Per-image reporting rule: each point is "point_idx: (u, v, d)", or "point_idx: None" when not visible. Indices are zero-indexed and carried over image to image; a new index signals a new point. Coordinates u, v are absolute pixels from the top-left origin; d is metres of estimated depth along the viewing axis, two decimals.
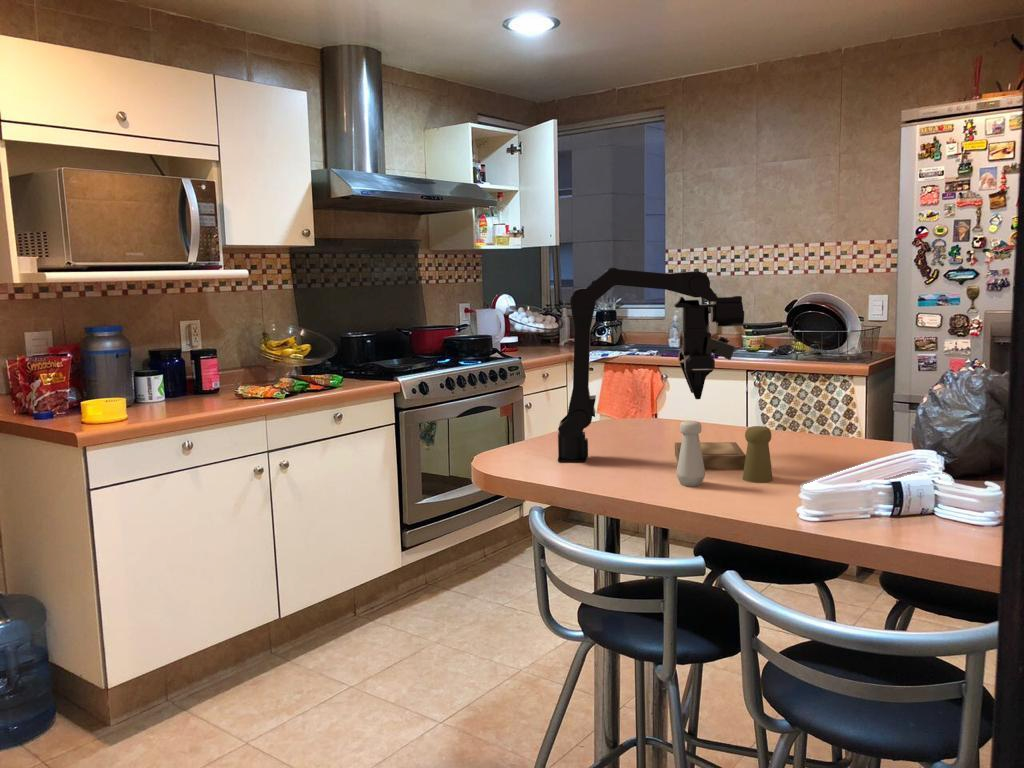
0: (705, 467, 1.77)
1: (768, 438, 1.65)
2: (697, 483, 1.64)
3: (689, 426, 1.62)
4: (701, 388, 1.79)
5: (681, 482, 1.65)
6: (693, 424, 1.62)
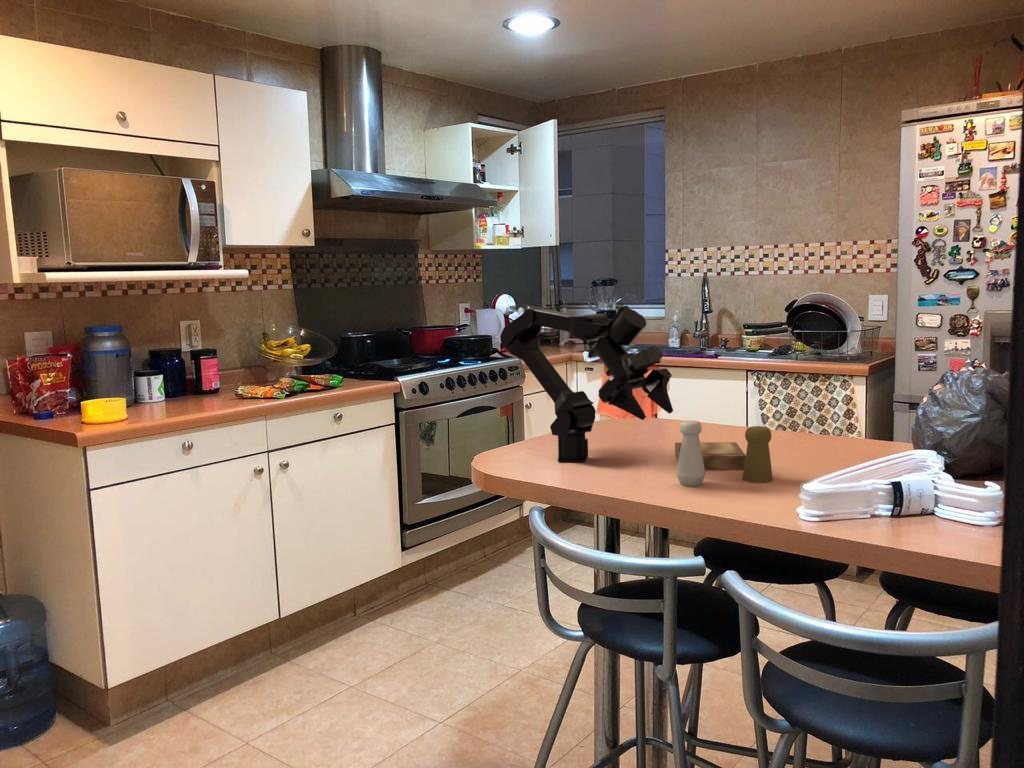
0: (705, 467, 1.77)
1: (768, 438, 1.65)
2: (697, 483, 1.64)
3: (689, 426, 1.62)
4: (636, 407, 1.67)
5: (681, 482, 1.65)
6: (693, 424, 1.62)
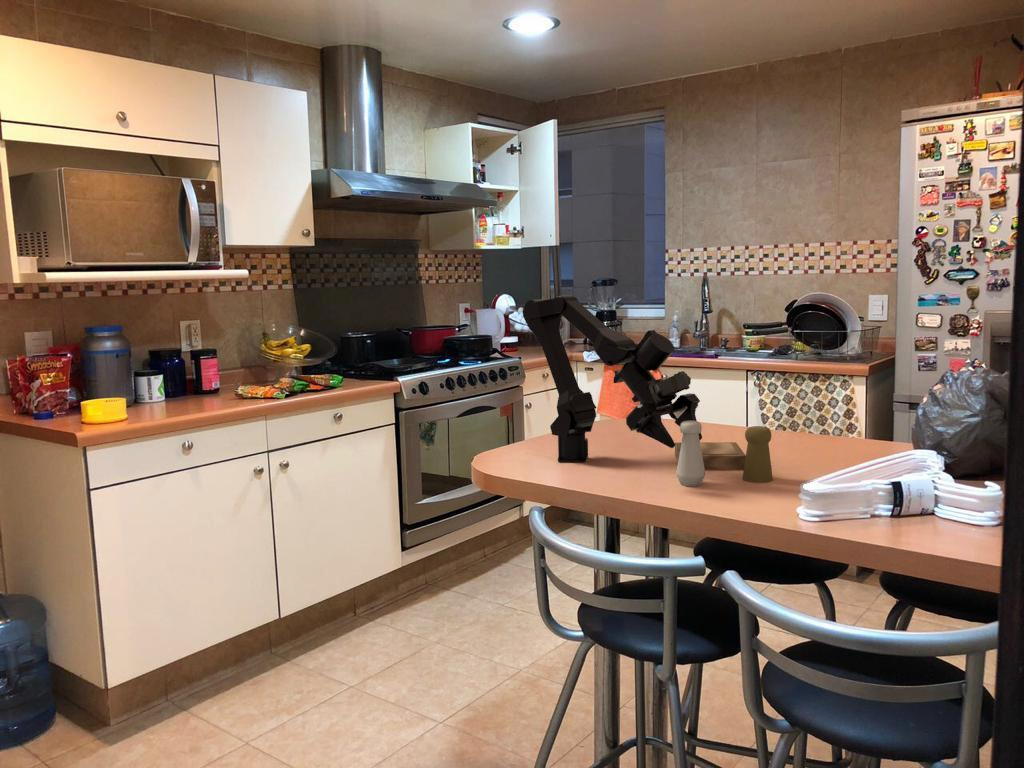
0: (705, 467, 1.77)
1: (768, 438, 1.65)
2: (697, 483, 1.64)
3: (689, 426, 1.62)
4: (665, 435, 1.62)
5: (681, 482, 1.65)
6: (693, 424, 1.62)
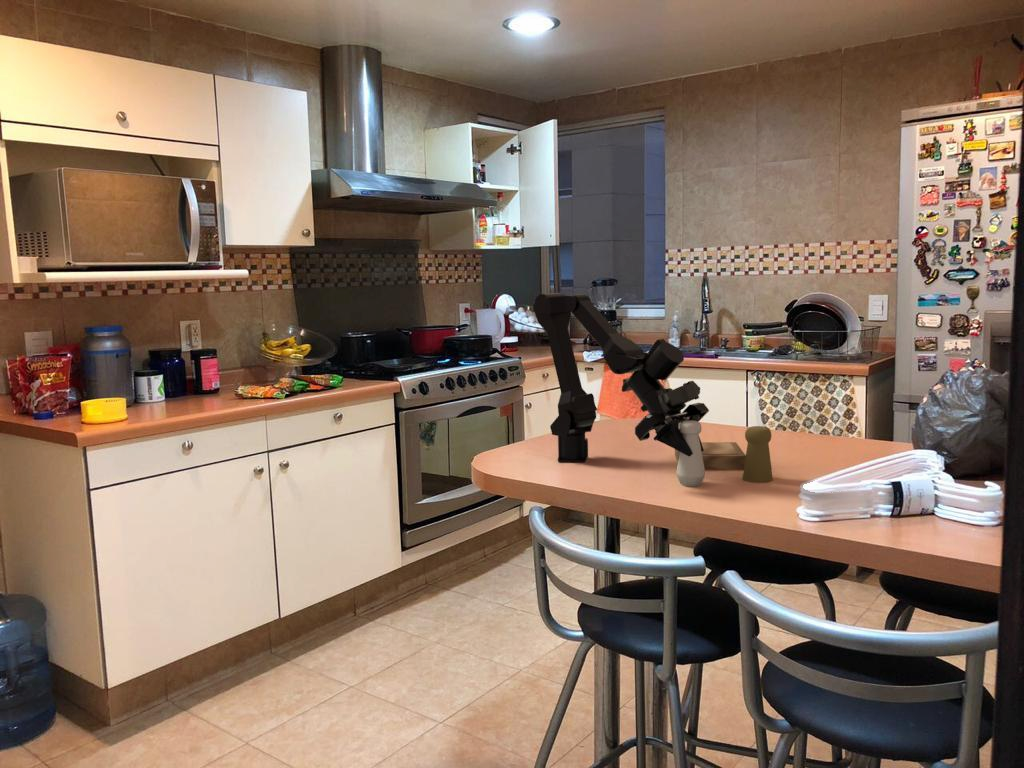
0: (705, 467, 1.77)
1: (768, 438, 1.65)
2: (697, 483, 1.64)
3: (689, 426, 1.62)
4: (682, 443, 1.63)
5: (681, 482, 1.65)
6: (693, 424, 1.62)
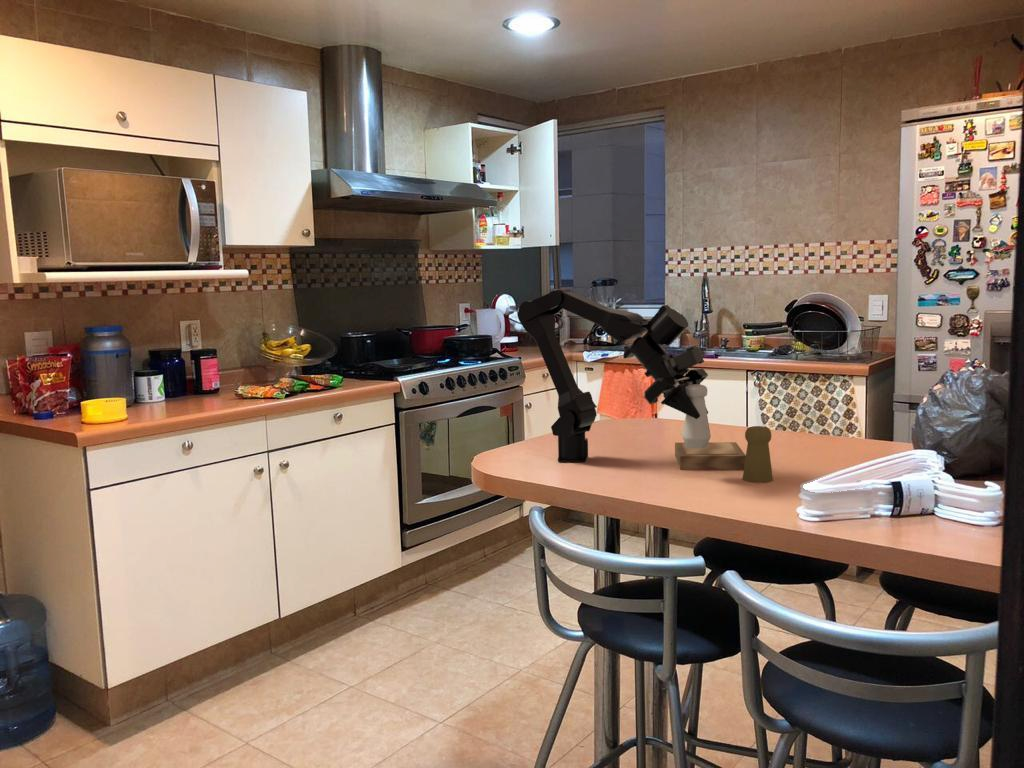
0: (705, 467, 1.77)
1: (768, 438, 1.65)
2: (703, 445, 1.68)
3: (696, 389, 1.66)
4: (690, 406, 1.66)
5: (687, 445, 1.69)
6: (700, 387, 1.66)
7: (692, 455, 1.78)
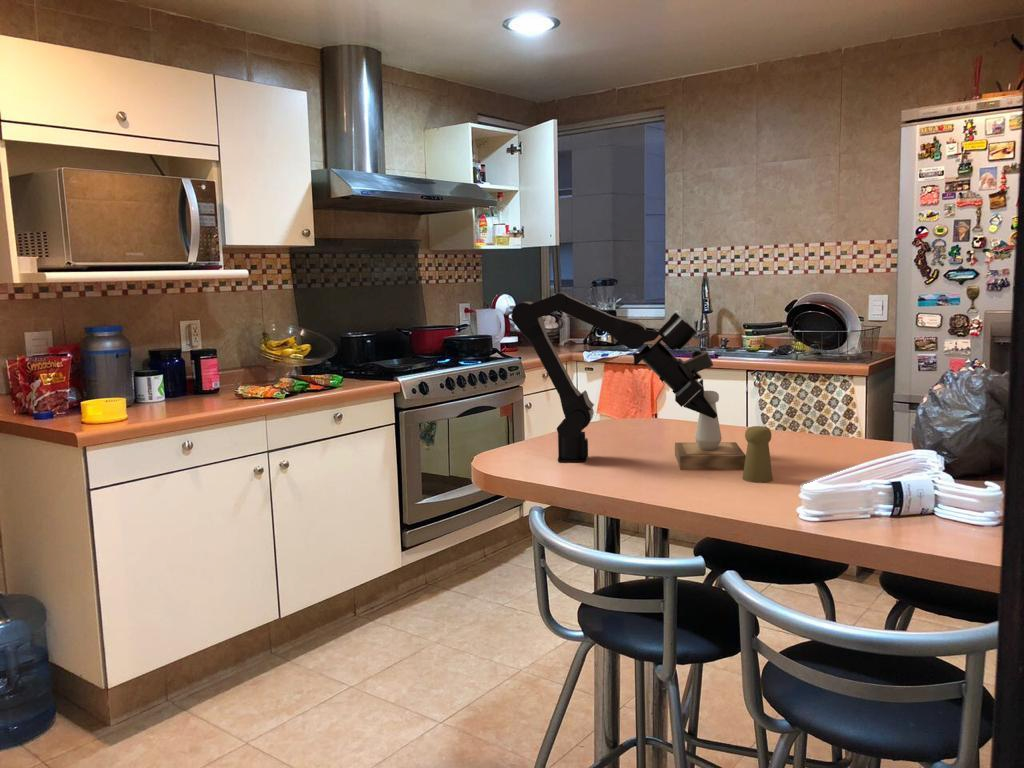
0: (705, 467, 1.77)
1: (768, 438, 1.65)
2: (717, 446, 1.82)
3: (713, 395, 1.80)
4: (709, 407, 1.77)
5: (704, 447, 1.82)
6: (715, 393, 1.80)
7: (692, 455, 1.78)
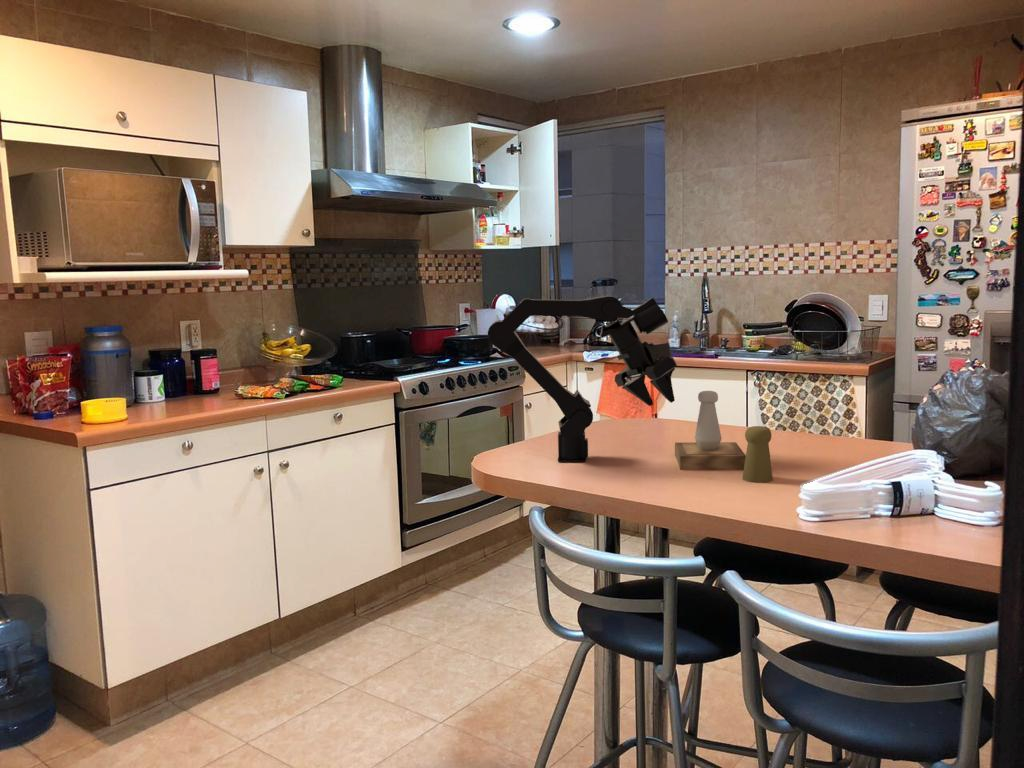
0: (705, 467, 1.77)
1: (768, 438, 1.65)
2: (717, 446, 1.82)
3: (712, 395, 1.80)
4: (671, 390, 1.83)
5: (703, 447, 1.82)
6: (714, 393, 1.80)
7: (692, 455, 1.78)
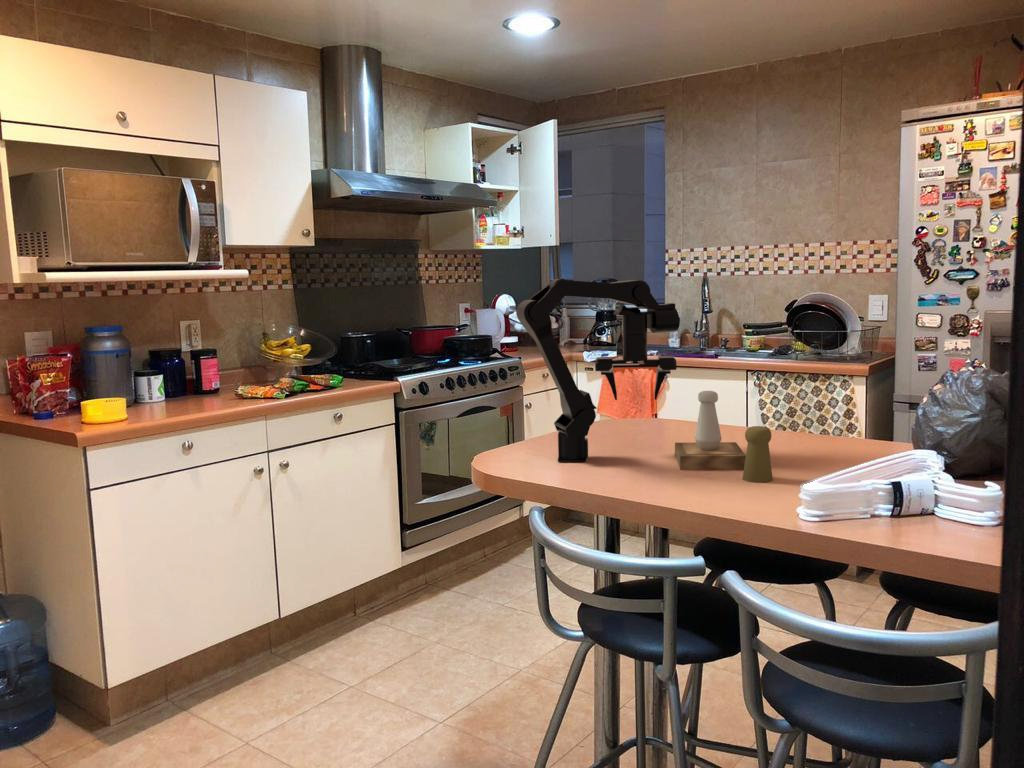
0: (705, 467, 1.77)
1: (768, 438, 1.65)
2: (717, 446, 1.82)
3: (712, 395, 1.80)
4: None
5: (703, 447, 1.82)
6: (714, 393, 1.80)
7: (692, 455, 1.78)
